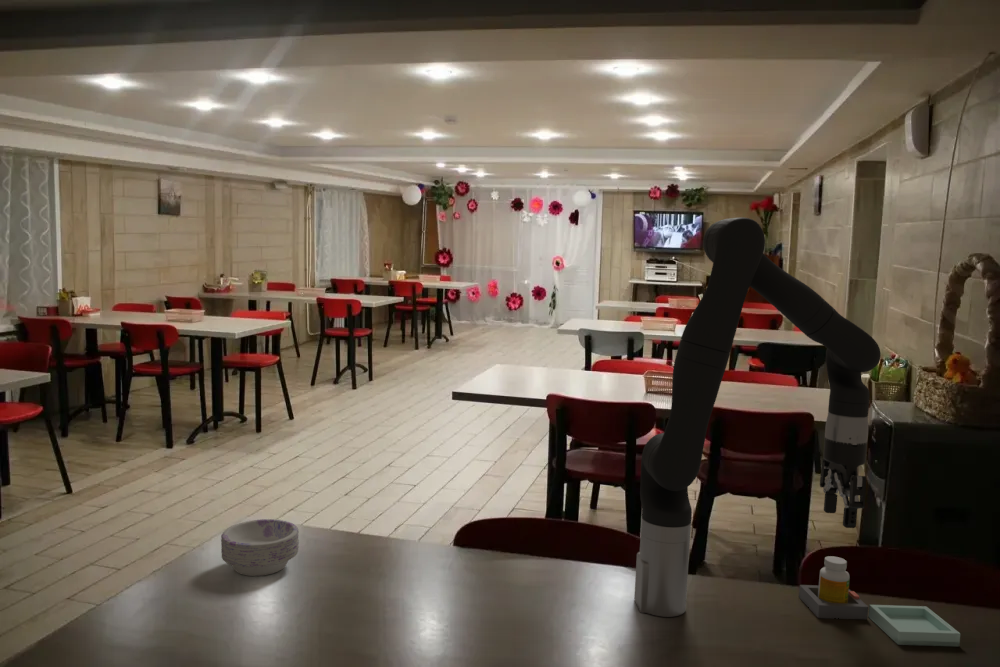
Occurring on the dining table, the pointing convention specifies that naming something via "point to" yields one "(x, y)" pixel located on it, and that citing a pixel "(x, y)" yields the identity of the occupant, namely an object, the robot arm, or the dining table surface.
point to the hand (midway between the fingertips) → (839, 519)
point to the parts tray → (914, 625)
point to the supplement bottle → (834, 581)
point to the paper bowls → (259, 546)
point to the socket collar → (833, 605)
